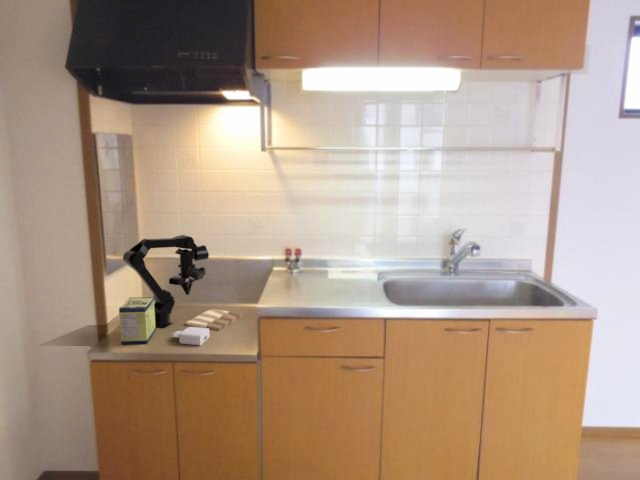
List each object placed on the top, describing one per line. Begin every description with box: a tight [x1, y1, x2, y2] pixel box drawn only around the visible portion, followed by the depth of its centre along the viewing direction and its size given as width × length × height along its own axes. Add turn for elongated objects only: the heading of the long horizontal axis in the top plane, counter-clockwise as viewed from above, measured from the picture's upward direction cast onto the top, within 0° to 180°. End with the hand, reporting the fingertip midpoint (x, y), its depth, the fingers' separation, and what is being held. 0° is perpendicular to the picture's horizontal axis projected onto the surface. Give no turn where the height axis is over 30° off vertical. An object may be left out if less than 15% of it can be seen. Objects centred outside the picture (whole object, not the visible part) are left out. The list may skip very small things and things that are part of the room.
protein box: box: [118, 296, 156, 345], centre depth 196 cm, size 10×16×16 cm
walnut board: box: [206, 311, 243, 332], centre depth 216 cm, size 20×7×2 cm, turn 160°
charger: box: [170, 326, 210, 346], centre depth 195 cm, size 5×9×15 cm
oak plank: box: [185, 308, 229, 328], centre depth 219 cm, size 20×10×2 cm, turn 160°
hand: (187, 294), depth 218 cm, fingers closed
